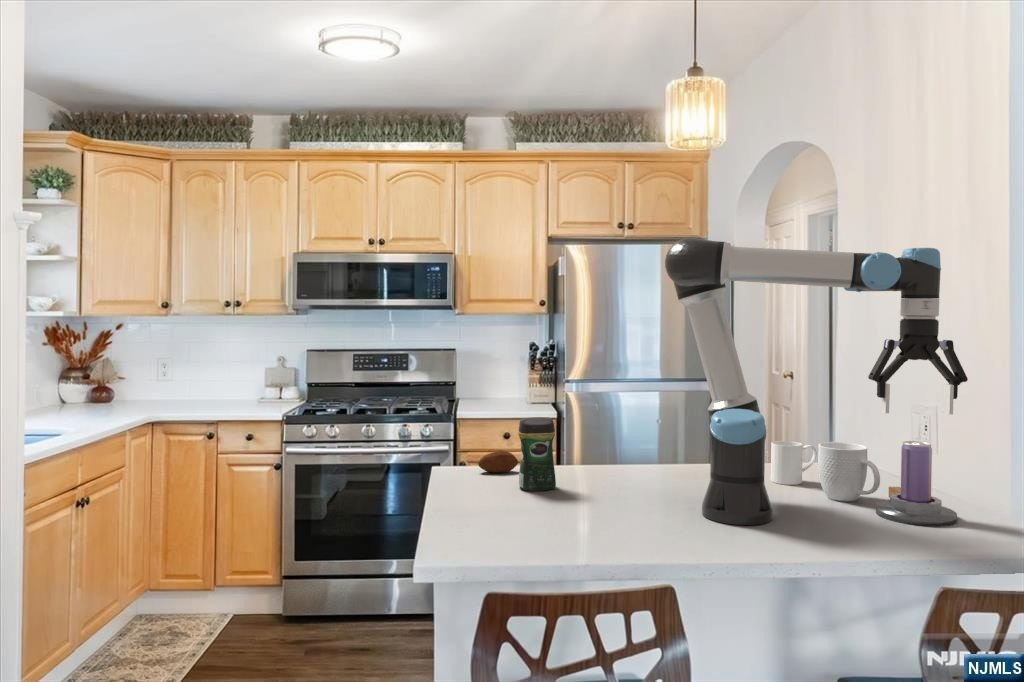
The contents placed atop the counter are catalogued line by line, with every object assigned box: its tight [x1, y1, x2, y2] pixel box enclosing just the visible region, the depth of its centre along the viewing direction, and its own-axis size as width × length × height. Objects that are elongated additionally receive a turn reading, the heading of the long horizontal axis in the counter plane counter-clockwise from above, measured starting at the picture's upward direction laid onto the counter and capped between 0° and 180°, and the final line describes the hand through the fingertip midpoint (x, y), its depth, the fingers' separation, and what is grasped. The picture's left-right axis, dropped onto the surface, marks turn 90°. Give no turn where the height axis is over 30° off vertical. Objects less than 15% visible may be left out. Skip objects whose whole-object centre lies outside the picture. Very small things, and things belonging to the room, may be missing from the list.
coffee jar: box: [517, 416, 557, 492], centre depth 190 cm, size 10×8×19 cm
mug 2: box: [817, 441, 881, 502], centre depth 178 cm, size 15×11×13 cm
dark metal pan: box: [875, 486, 958, 528], centre depth 165 cm, size 16×19×4 cm
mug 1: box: [770, 440, 818, 486], centre depth 197 cm, size 12×8×10 cm, turn 96°
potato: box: [477, 449, 519, 474], centre depth 209 cm, size 6×12×6 cm, turn 101°
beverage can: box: [900, 440, 933, 503], centre depth 163 cm, size 6×6×15 cm
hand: (916, 413), depth 163 cm, fingers open, 13 cm apart
